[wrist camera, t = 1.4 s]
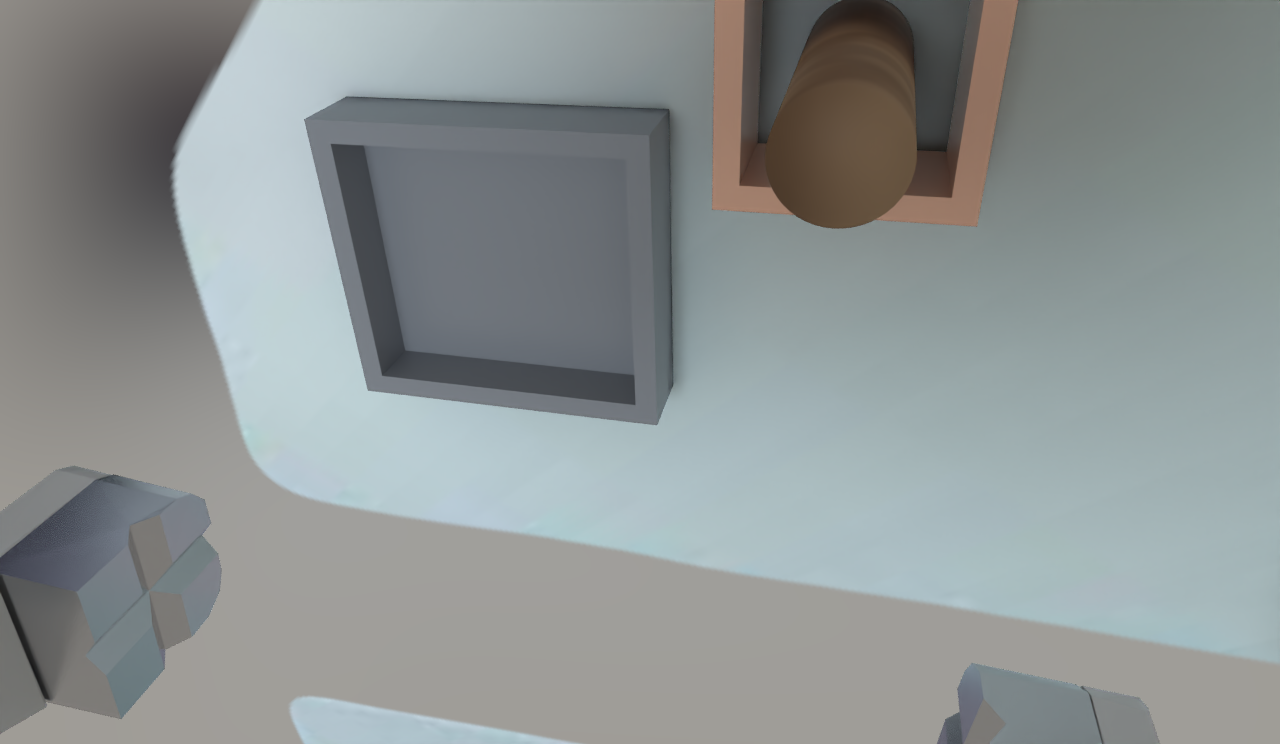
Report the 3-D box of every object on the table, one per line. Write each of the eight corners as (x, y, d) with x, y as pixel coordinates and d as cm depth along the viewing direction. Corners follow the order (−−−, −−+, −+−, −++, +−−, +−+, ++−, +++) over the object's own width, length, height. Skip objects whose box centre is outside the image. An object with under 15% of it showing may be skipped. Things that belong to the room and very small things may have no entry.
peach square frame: (1014, -89, 24) (1031, -72, 21) (968, 177, 28) (977, 226, 25) (739, -86, 26) (715, -70, 23) (732, 164, 30) (712, 209, 27)
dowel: (920, -4, 26) (927, 85, 18) (906, 105, 28) (906, 233, 20) (809, -5, 27) (768, 81, 19) (802, 101, 29) (761, 223, 20)
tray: (669, 109, 30) (649, 135, 27) (673, 385, 36) (657, 425, 33) (346, 96, 32) (304, 119, 30) (399, 355, 38) (367, 390, 36)
